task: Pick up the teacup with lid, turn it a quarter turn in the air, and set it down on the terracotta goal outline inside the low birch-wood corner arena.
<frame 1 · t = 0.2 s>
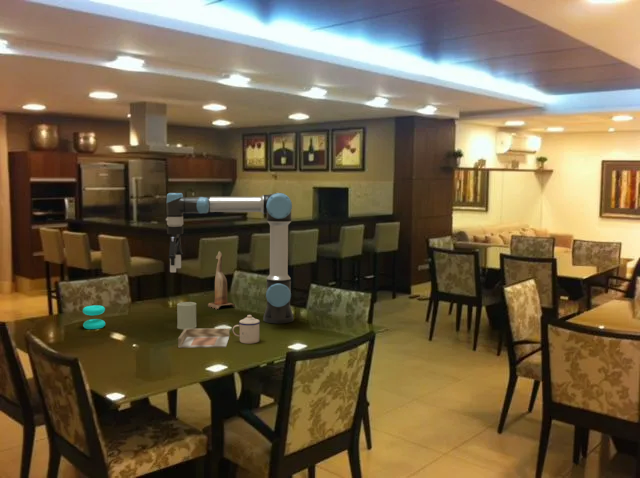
hand: (175, 270, 288), 28 cm above the table, fingers open, 13 cm apart
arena: (204, 342, 265), on the table
teacup with lid: (246, 341, 267), on the table
can: (186, 327, 292), on the table
donuts: (94, 327, 290), on the table
bird sculpture: (221, 307, 339), on the table
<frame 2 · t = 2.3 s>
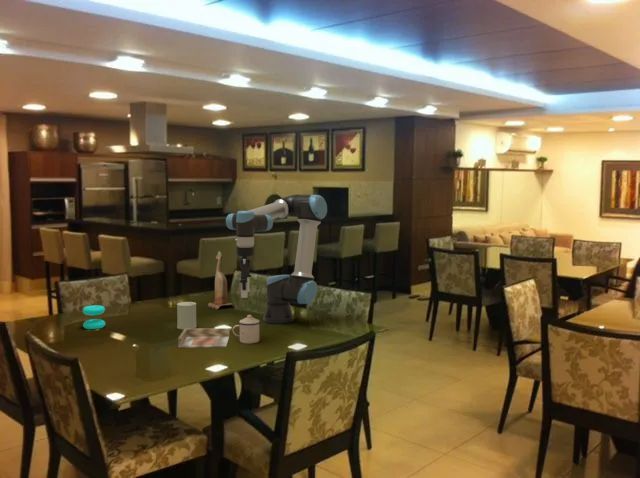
hand: (245, 294, 265), 21 cm above the table, fingers open, 13 cm apart
nothing on the table moved.
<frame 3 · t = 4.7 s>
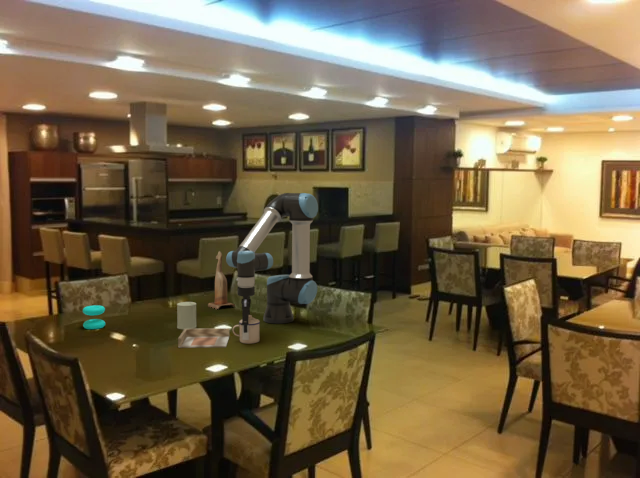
hand: (246, 336, 267), 2 cm above the table, fingers closed on teacup with lid, 9 cm apart
teacup with lid: (246, 341, 267), on the table, touching gripper
everything else where it was.
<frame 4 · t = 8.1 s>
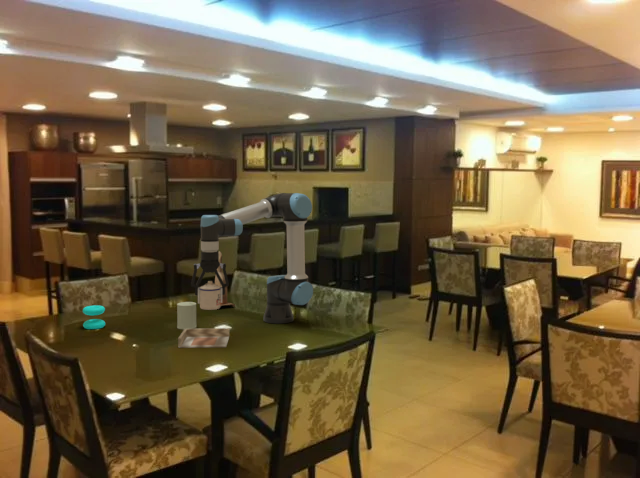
hand: (210, 302, 262), 18 cm above the table, fingers closed on teacup with lid, 9 cm apart
teacup with lid: (210, 307, 262), point 16 cm above the table, touching gripper
everything else where it was.
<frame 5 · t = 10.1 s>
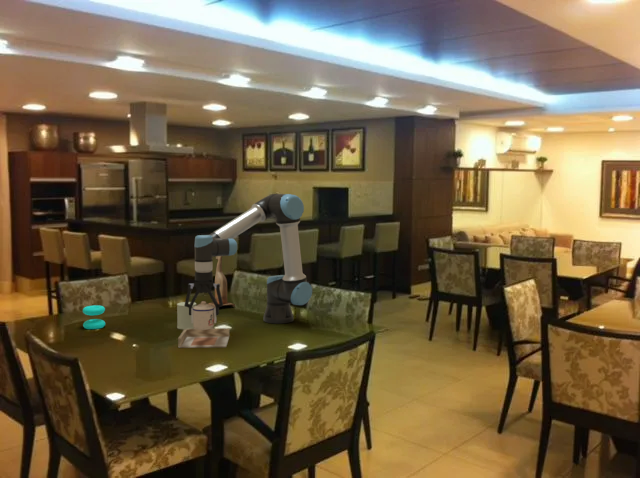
hand: (204, 322, 263), 9 cm above the table, fingers closed on teacup with lid, 9 cm apart
teacup with lid: (204, 327, 263), point 7 cm above the table, touching gripper
everything else where it was.
when the fingers open (4 cm above the table, at t = 11.6 s): teacup with lid drops 1 cm, resting on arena.
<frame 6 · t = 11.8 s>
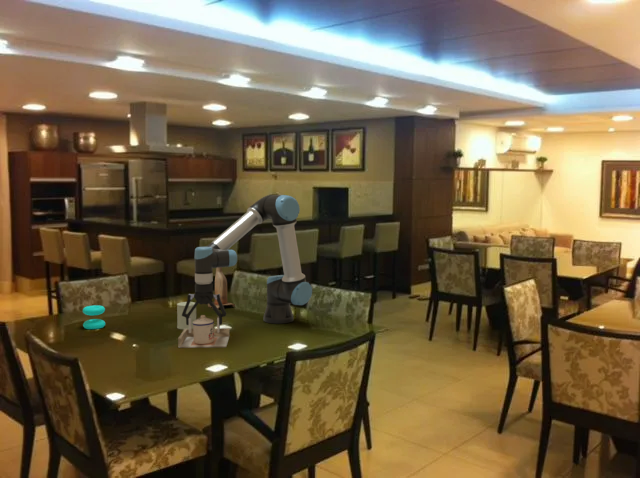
hand: (204, 332, 263), 5 cm above the table, fingers open, 11 cm apart
teacup with lid: (204, 341, 264), point 1 cm above the table, touching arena
everything else where it was.
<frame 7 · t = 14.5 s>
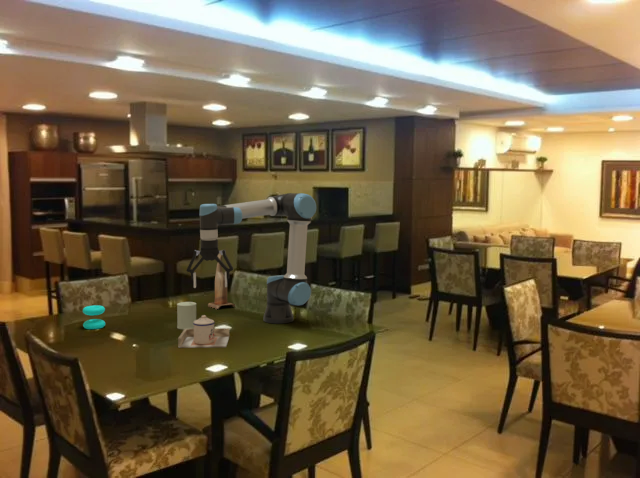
hand: (210, 287, 267), 24 cm above the table, fingers open, 13 cm apart
nothing on the table moved.
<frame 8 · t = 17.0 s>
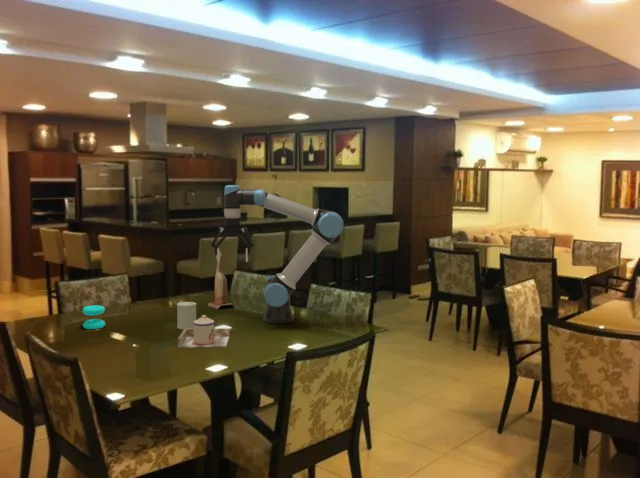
hand: (232, 261, 291), 32 cm above the table, fingers open, 13 cm apart
nothing on the table moved.
at the end: teacup with lid inside the target area (0.1 cm from its centre), point 0.5 cm above the table; teacup with lid tilted 0°; the gripper is holding nothing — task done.
